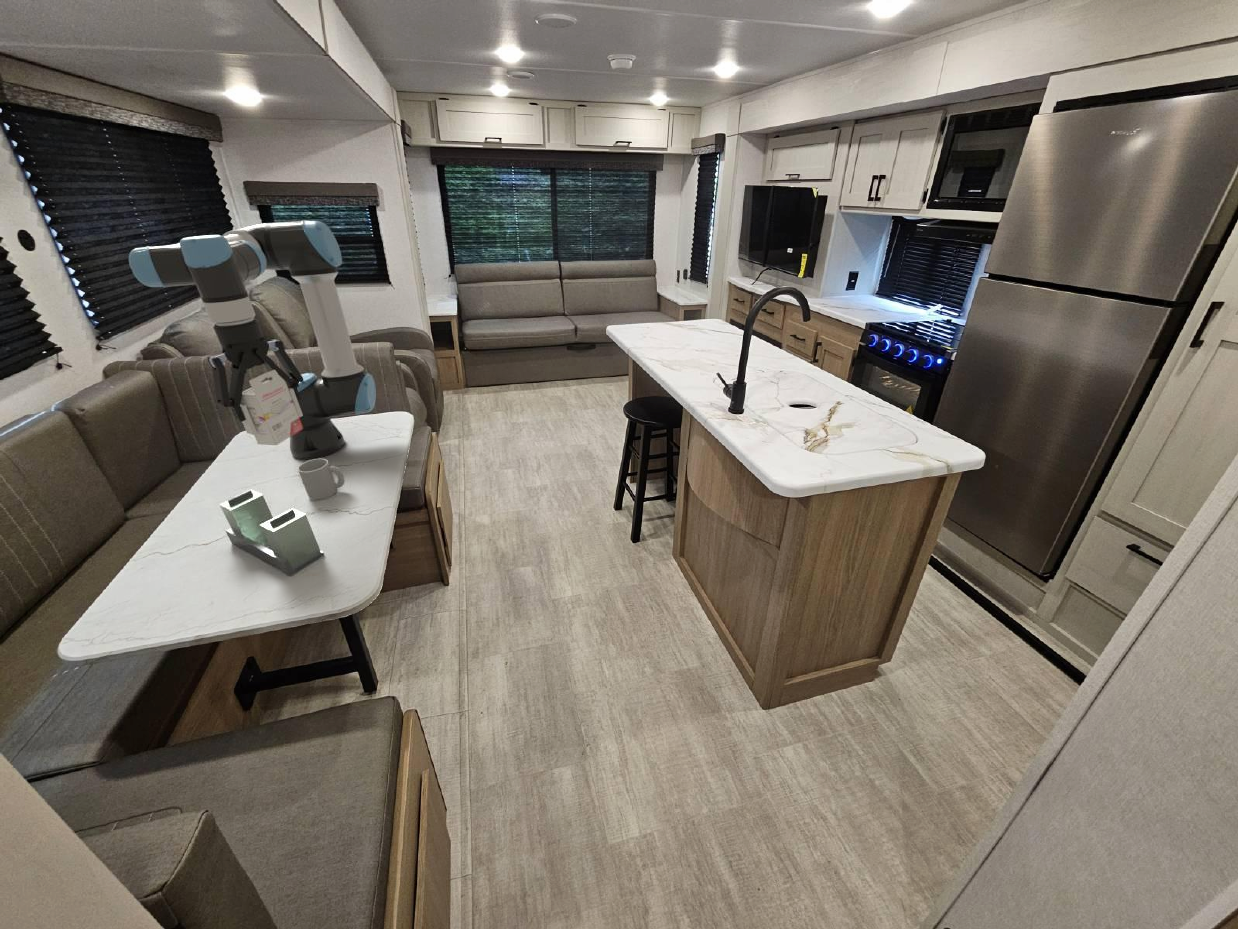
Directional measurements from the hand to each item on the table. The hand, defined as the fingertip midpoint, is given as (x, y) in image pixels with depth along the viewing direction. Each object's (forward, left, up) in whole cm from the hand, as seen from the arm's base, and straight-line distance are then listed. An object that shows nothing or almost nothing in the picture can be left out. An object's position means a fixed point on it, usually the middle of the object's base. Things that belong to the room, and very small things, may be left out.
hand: (275, 424), depth 114 cm
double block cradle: (+10, 0, -28) cm, 30 cm away
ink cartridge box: (0, 0, -3) cm, 3 cm away
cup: (-11, -12, -28) cm, 33 cm away
